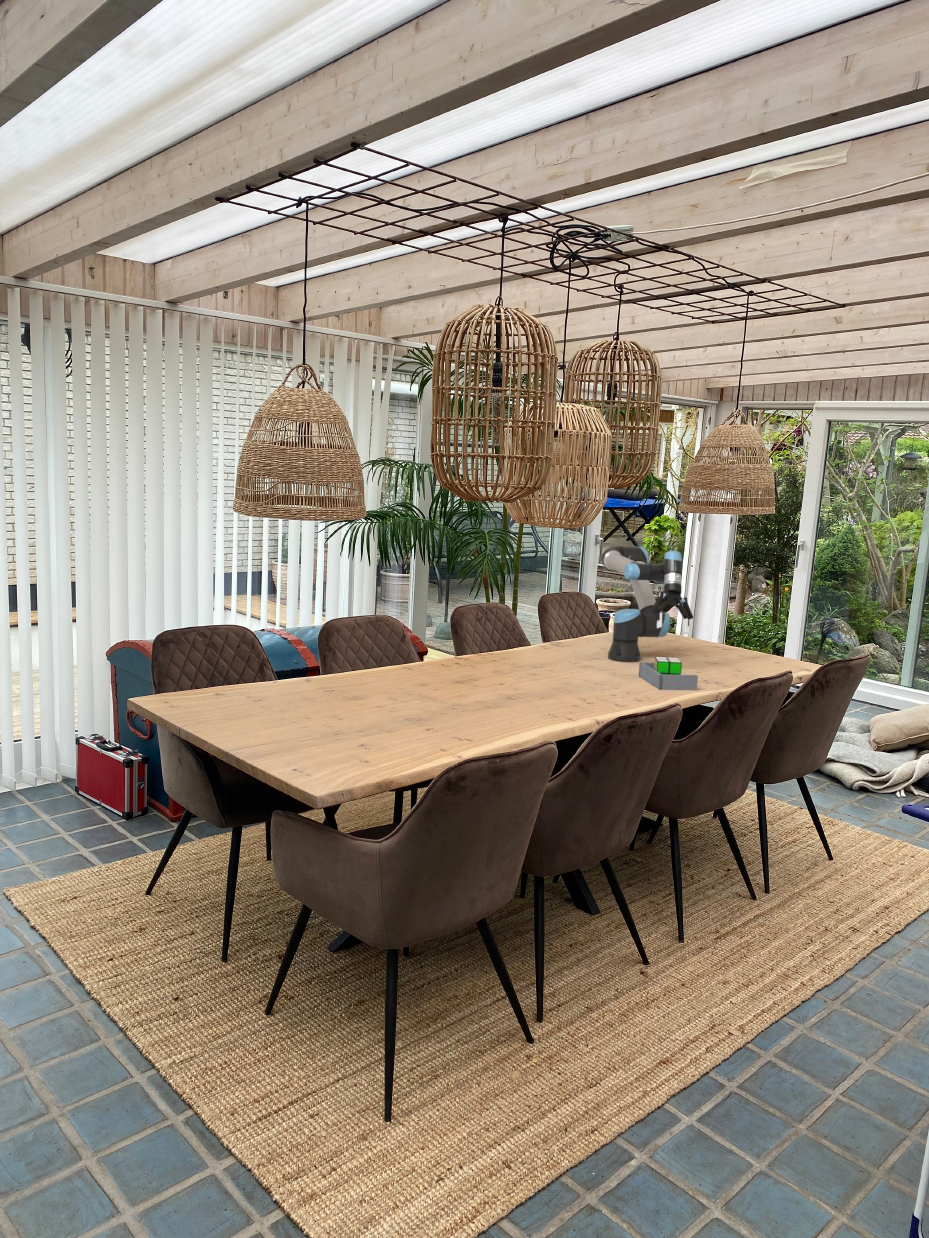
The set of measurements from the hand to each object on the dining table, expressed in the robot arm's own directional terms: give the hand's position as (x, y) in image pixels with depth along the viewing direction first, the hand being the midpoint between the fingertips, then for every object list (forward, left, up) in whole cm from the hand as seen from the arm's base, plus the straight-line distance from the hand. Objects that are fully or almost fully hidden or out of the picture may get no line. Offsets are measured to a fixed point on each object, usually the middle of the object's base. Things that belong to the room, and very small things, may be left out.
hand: (672, 630), depth 390 cm
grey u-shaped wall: (+22, -9, -19) cm, 30 cm away
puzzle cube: (+22, -9, -19) cm, 30 cm away
